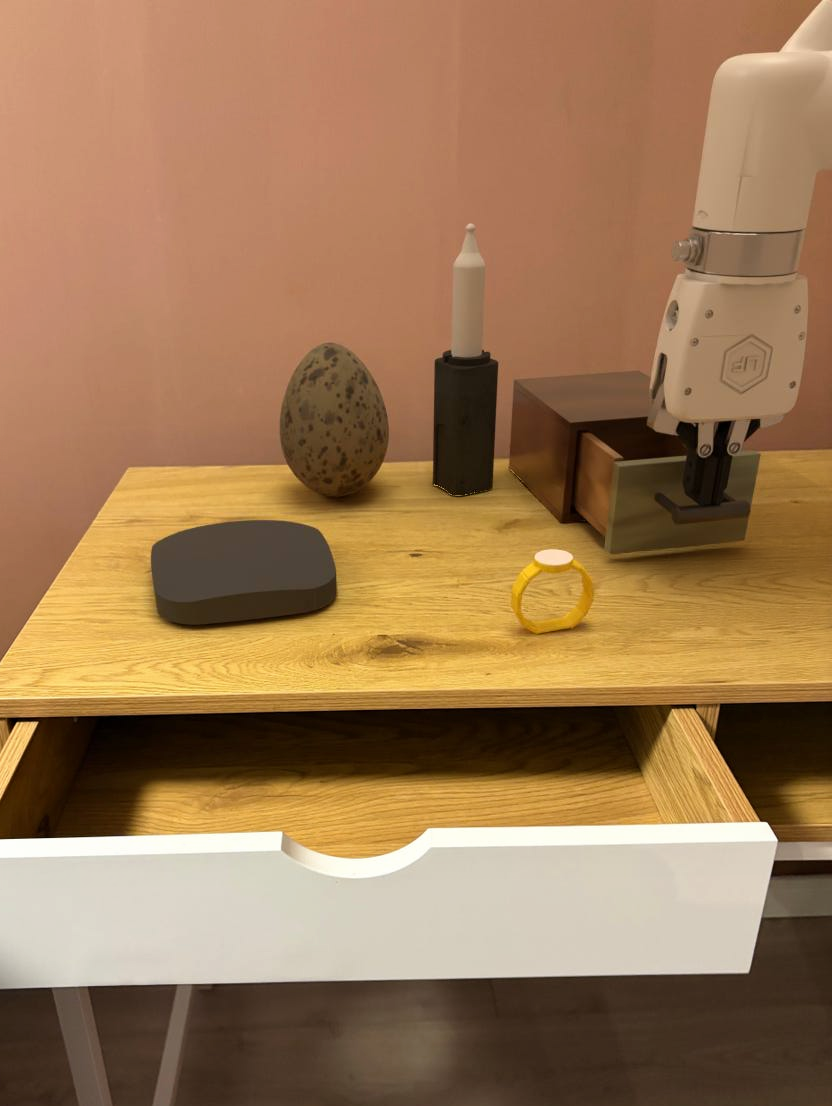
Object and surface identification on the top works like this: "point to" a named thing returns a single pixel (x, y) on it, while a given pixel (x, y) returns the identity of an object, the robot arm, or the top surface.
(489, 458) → the candle
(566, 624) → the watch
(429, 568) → the top surface
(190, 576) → the media streaming box
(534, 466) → the cabinet
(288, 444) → the decorative egg
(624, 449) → the drawer
